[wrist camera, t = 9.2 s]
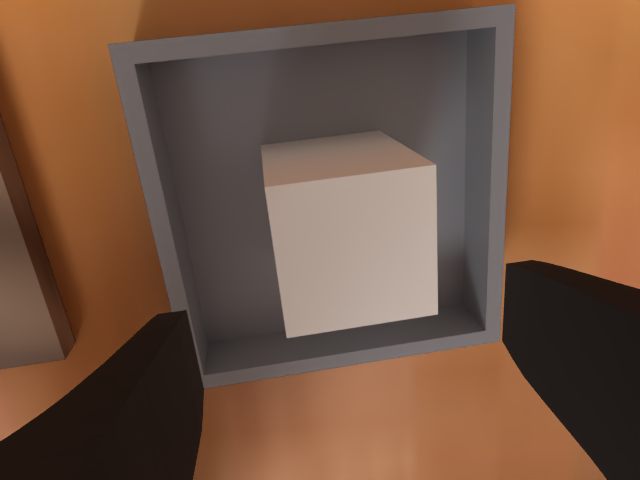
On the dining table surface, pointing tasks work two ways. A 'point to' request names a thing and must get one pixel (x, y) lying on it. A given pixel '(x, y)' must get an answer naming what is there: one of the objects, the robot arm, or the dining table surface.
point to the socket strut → (351, 231)
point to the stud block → (26, 279)
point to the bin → (308, 123)
